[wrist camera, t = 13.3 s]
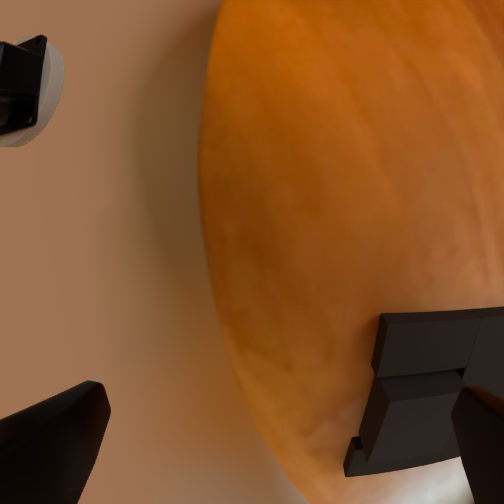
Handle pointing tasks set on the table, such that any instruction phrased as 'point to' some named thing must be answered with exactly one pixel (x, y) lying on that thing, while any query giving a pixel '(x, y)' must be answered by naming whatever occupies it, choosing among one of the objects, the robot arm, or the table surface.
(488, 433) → the robot arm
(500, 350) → the flat black pad
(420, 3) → the table surface
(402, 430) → the dark grey square block
